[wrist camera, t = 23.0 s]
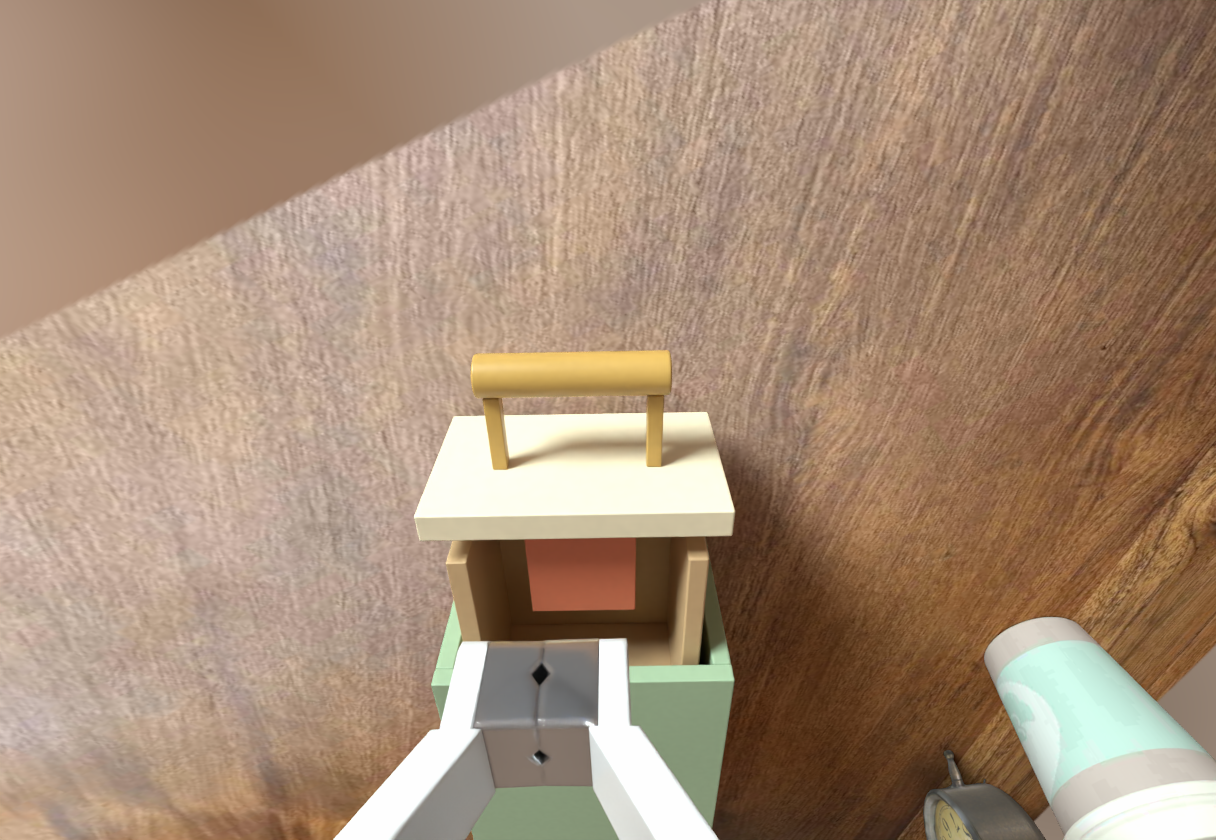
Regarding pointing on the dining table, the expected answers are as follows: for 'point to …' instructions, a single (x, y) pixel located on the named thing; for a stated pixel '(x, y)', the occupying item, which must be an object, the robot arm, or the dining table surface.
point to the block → (582, 573)
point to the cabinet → (660, 703)
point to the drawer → (579, 500)
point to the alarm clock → (975, 812)
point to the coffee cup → (1100, 739)
